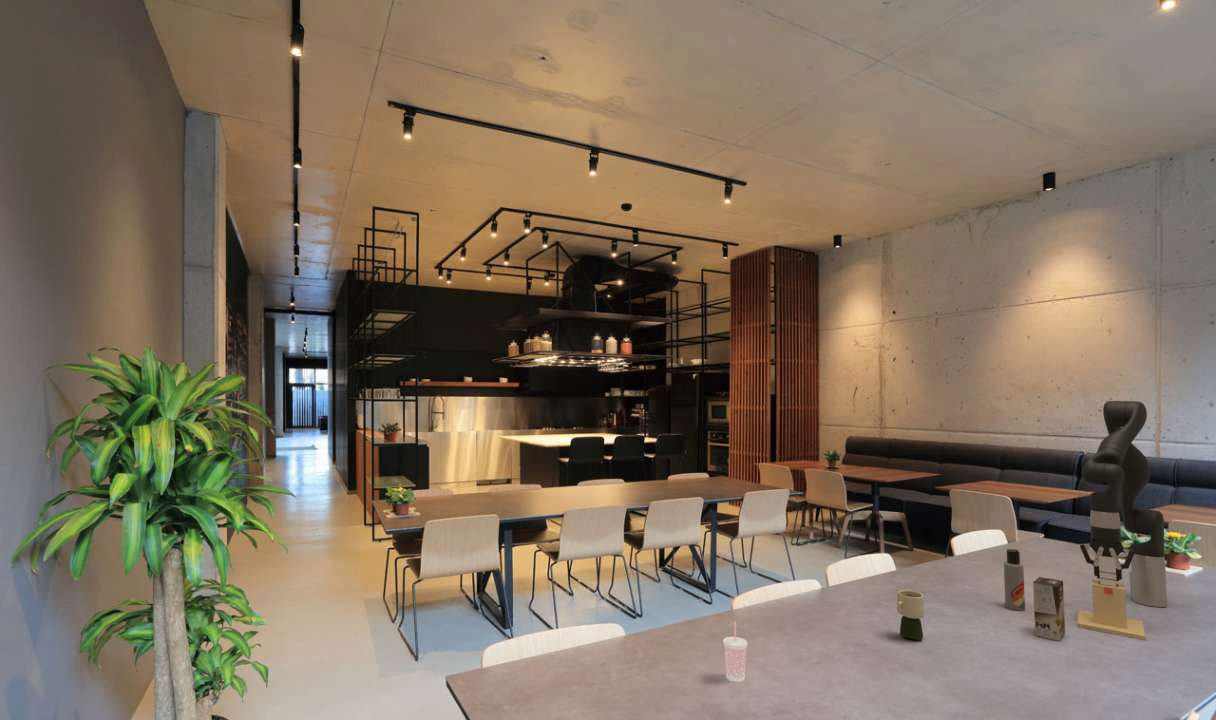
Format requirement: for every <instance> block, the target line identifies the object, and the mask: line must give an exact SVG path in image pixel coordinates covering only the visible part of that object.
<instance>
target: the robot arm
mask: <svg viewBox="0 0 1216 720" xmlns="http://www.w3.org/2000/svg"><path fill="white" fill-rule="evenodd" d="M1102 409H1103V411H1102V413H1103V414H1102V415H1103V419H1104V423H1105V427H1106V430H1107V434H1108V435H1107V436H1106V437H1104V438H1103V439H1102V441H1101V442H1100V444H1099V446H1098V448H1097V451H1096V453H1095V454H1094V455H1092V457H1091V458H1089V459H1088V460H1087V461H1086V462H1085V463H1084V464H1083V466H1082V469H1081V477H1082V478H1083V481H1085V482H1086V483H1087V484H1088V483H1089V484H1091V485H1099V486H1107V489H1106V490H1105V491H1094V492H1091V493H1090V496H1089V499H1090V500H1089V502H1090V516H1089V523H1090V541H1089V543H1080V544H1079V547H1080V550H1081V552H1082V555H1083V557H1084V560H1085V562H1086V563H1087V564H1090V565H1092V566H1093V576H1094V577H1096V578H1097V579H1098V580H1100V572H1099V556H1109V557H1114V558H1115V565H1116V579H1117V581H1116V582H1120V581H1122V579H1123V574H1122V573H1123V572H1122V571H1123V570H1125V569H1127V570H1128V569H1129V568H1130V572H1129V586H1130V587H1129V588H1130V599H1132V601H1133V602H1135V603H1136V604H1141V605H1144V606H1149V607H1154V608H1155V607H1156V608H1166V607H1168V596H1167V595H1168V594H1167V593H1168V592H1167V577H1166V576H1167V574H1166V573H1167V572H1166V559H1165V518H1164V515H1163V513H1162V512H1161V511H1159V510H1156V509H1148V508H1147V509H1146V508H1139V507H1136V506H1135V501H1136V499H1137V498H1138V495H1140V493H1141V491H1142V490H1143V489H1144V488H1145V487H1146V485H1147V484H1148V483H1149V481H1150V479H1151V473H1150V467H1149V466H1150V465H1149V461H1148V458H1146V456H1145V454H1143V452H1141V451H1140V449H1138V447H1137V446H1136V445H1134V443H1133V441H1134V440H1135V439H1136V437H1137V436H1138V434H1140V432H1141V431H1142V429H1143V427H1144V426H1145V424H1146V421H1147V419H1148V418H1147V417H1148V412H1147V408H1146V405H1145V404H1144V403H1143V402H1141V401H1138V400H1137V401H1135V400H1108V401H1106V402H1105V403H1104V404H1103V408H1102ZM1119 497H1120V504H1121V516H1122V523H1123V526H1124V529H1125V530H1126V532H1128V533H1131V534H1136V535H1144V536H1150V538H1149V540H1146V541H1142V542H1136V543H1135V542H1134V543H1131V544H1130V545H1129V549H1128V548H1127V547H1124V545H1123V544H1122V528H1121V527H1122V524H1121V517H1120V511H1119V510H1120V509H1119V507H1120V506H1119ZM1090 548H1091V549H1092V551H1093V552H1094V553H1095V557H1094V560H1093V559H1091V557H1090V554H1089V552H1088V551H1089V550H1090ZM1122 552H1124V555H1125V556H1126V558H1125V559H1124V562H1123V563H1121V562H1120V559H1119V557H1118V556H1119V555H1120V554H1122Z"/></svg>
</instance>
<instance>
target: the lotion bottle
mask: <svg viewBox="0 0 1216 720" xmlns="http://www.w3.org/2000/svg"><path fill="white" fill-rule="evenodd" d="M1020 554H1021V552H1020V551H1019V549H1016V548H1013V549H1012V548H1008V549H1006V561H1004V562H1003V577H1004V581H1003V582H1004V583H1003V585H1004V598H1005V599H1004V605H1005V608H1007V609H1009V610H1013V611H1017V612H1018V611H1019V612H1022V611H1025V610H1026V599H1025V597H1026V596H1025V593H1026V592H1025V573H1024V570H1025V569H1024V567H1025V566H1024V565H1023V564H1022V563H1021V555H1020Z"/></svg>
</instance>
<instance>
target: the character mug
mask: <svg viewBox="0 0 1216 720" xmlns="http://www.w3.org/2000/svg"><path fill="white" fill-rule="evenodd" d="M924 597H925V596H924V594H923V593H921V592H918V591H914V590H908V589H907V590H906V589H901V590H897V597H896V598H897V599H896V600H897V601H896V611H897V613H899V615H900V616H901V619H900V628H899V635H900V636H901V637H905V638H907V639H911V640H923V639H924V633H923V626H922V621H921V619H922V618H924V616H925V600H924Z"/></svg>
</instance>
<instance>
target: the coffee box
mask: <svg viewBox="0 0 1216 720" xmlns="http://www.w3.org/2000/svg"><path fill="white" fill-rule="evenodd" d="M1032 583H1033V585H1032V586H1033V588H1032V589H1033V612H1034V614H1033V615H1034V617H1033V618H1034V635H1035V636H1037V637H1040V638H1046V639H1049V640H1053V641H1057V642H1060V641H1061V640H1062V638H1063V637H1064V636H1065V635H1066V620H1065V600H1064V598H1065V596H1064V595H1065V593H1064V592H1065V591H1064V580H1059V579H1054V578H1049V577H1042V576H1039V577H1038V578H1037V579H1035V580H1034V581H1032Z"/></svg>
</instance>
